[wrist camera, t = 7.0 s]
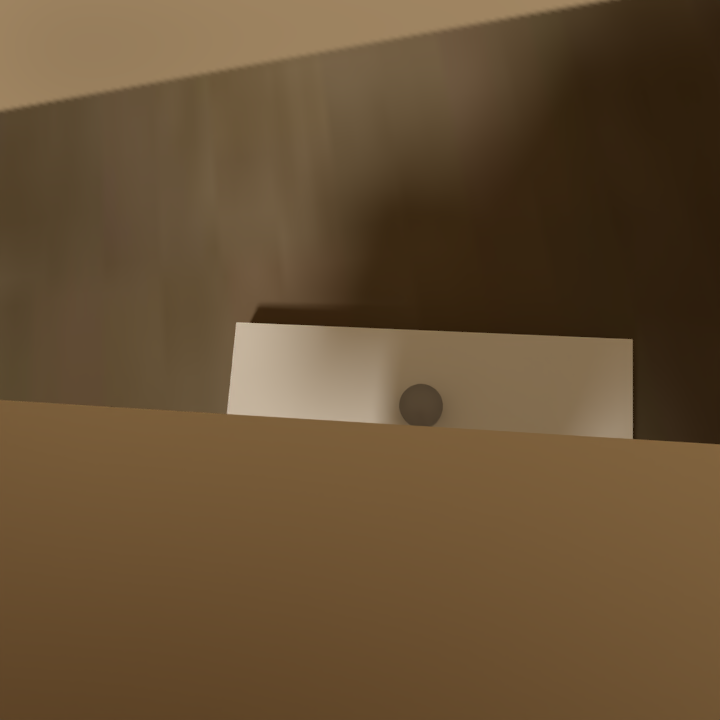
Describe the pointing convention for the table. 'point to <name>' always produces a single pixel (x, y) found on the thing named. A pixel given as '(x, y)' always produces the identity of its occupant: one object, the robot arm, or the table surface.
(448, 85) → the table surface
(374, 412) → the stub base plate
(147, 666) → the maple block
